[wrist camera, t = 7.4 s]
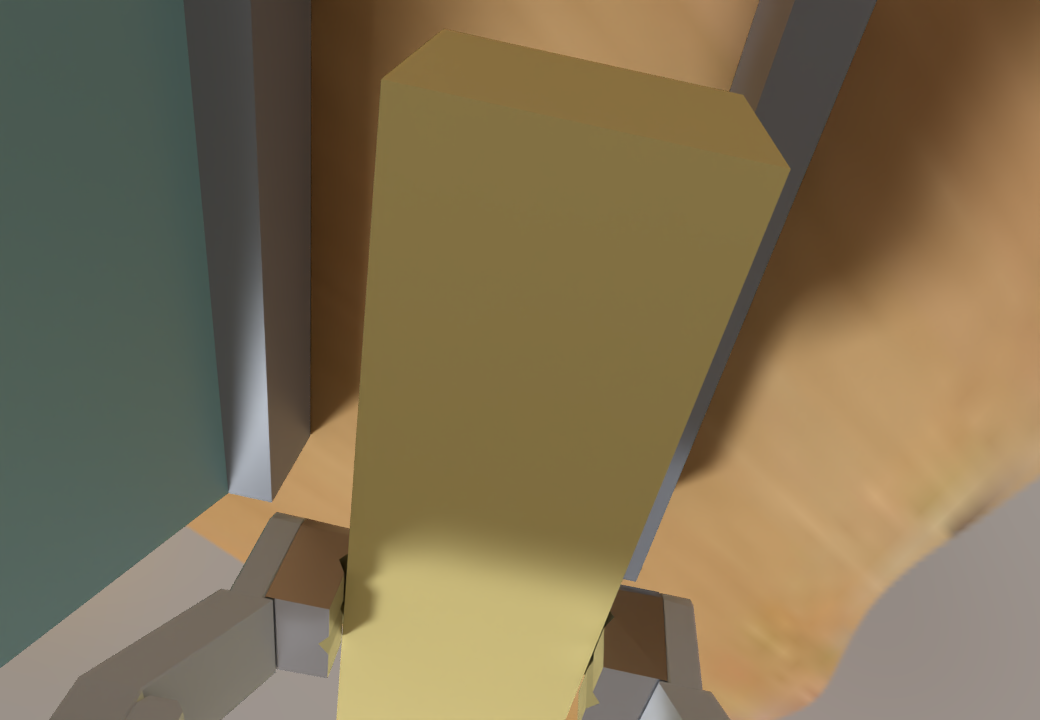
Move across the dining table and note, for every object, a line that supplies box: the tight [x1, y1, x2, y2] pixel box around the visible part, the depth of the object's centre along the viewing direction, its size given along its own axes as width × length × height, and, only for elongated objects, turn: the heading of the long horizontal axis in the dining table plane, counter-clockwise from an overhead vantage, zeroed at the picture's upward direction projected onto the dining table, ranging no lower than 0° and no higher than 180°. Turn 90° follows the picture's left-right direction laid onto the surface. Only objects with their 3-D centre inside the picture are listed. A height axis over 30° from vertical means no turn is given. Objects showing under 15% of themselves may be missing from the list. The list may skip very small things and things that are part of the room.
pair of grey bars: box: [183, 0, 877, 582], centre depth 20 cm, size 14×18×4 cm
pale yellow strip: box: [337, 29, 791, 720], centre depth 12 cm, size 4×16×3 cm, turn 169°
